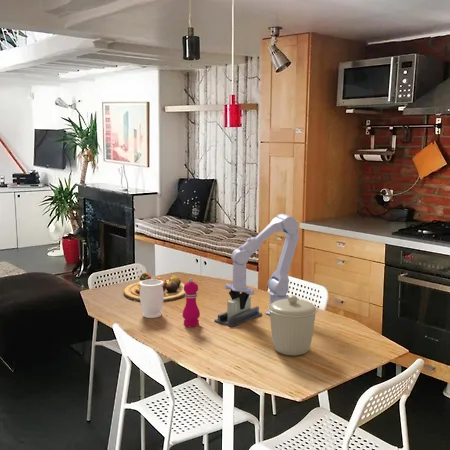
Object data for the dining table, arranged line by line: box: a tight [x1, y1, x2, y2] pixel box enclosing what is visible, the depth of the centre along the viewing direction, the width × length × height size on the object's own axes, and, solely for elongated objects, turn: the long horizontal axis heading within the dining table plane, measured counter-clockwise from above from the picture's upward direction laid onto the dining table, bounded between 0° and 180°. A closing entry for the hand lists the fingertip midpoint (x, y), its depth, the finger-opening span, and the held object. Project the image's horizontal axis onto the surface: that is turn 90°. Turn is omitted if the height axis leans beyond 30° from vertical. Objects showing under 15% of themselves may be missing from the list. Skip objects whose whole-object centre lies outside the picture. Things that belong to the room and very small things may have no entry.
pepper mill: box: [182, 277, 201, 328], centre depth 232 cm, size 7×7×20 cm
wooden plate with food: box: [123, 272, 186, 303], centre depth 278 cm, size 32×32×8 cm
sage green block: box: [226, 295, 252, 317], centre depth 241 cm, size 12×4×7 cm, turn 139°
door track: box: [214, 305, 263, 328], centre depth 241 cm, size 20×10×3 cm, turn 139°
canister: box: [267, 294, 319, 357], centre depth 205 cm, size 18×18×21 cm
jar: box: [140, 278, 164, 319], centre depth 244 cm, size 11×10×15 cm
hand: (239, 307), depth 241 cm, fingers closed on sage green block, 3 cm apart
